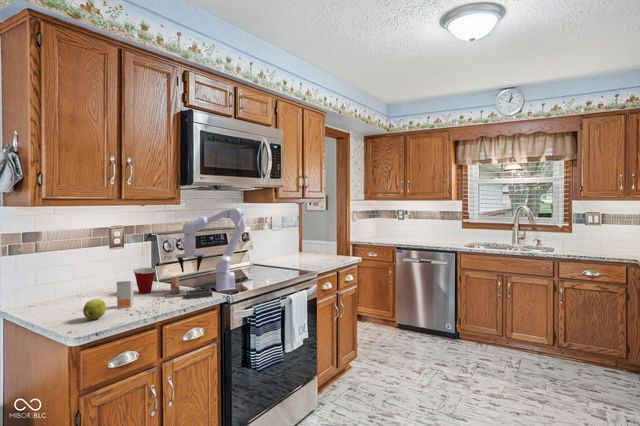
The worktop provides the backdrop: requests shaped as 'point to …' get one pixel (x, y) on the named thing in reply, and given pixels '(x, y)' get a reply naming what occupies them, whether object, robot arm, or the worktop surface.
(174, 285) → the peg
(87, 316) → the apple
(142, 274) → the plastic cup
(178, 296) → the mat
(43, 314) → the worktop surface
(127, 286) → the skincare box
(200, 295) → the dark flat piece
